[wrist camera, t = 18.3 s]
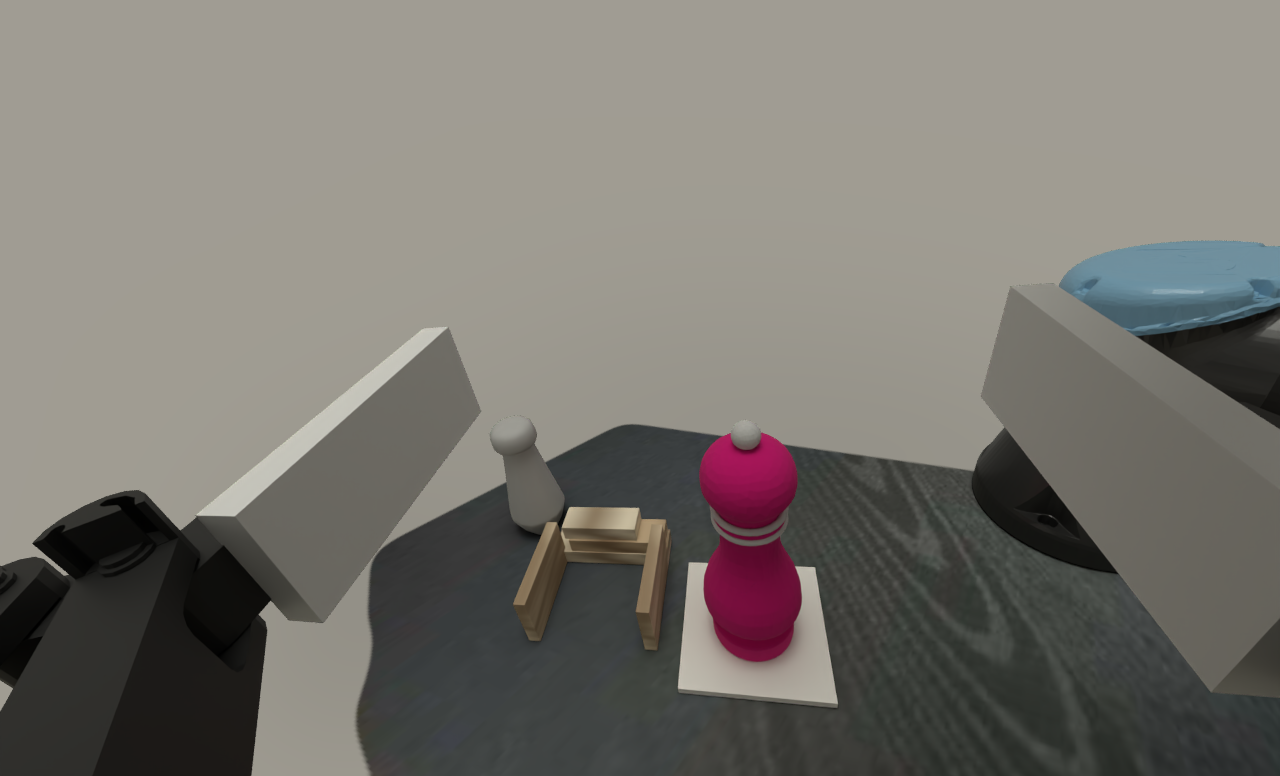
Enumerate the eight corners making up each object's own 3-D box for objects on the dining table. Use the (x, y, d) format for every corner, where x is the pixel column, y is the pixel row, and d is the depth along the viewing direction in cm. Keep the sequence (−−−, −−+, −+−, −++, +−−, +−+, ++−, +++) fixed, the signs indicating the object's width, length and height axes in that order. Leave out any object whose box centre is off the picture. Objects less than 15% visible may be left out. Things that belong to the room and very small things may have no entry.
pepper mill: (693, 647, 38) (663, 449, 27) (724, 573, 43) (708, 383, 32) (788, 686, 34) (795, 477, 24) (808, 600, 39) (821, 398, 29)
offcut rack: (671, 540, 47) (665, 504, 45) (657, 650, 38) (648, 613, 36) (566, 537, 50) (555, 502, 47) (529, 640, 41) (512, 604, 38)
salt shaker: (516, 547, 50) (476, 450, 43) (516, 508, 54) (479, 415, 48) (572, 531, 50) (540, 433, 44) (566, 495, 55) (538, 401, 48)
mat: (814, 571, 42) (814, 567, 42) (837, 708, 33) (837, 703, 33) (689, 566, 45) (689, 562, 44) (678, 692, 35) (677, 688, 35)
